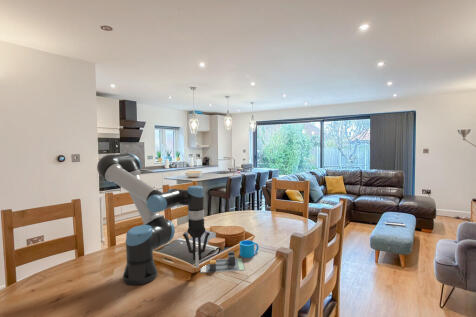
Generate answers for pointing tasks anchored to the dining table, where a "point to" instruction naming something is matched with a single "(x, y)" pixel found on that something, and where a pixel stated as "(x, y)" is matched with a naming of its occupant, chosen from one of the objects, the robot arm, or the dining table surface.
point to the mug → (247, 248)
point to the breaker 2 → (231, 259)
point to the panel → (225, 266)
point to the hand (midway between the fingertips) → (197, 266)
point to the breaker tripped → (212, 265)
